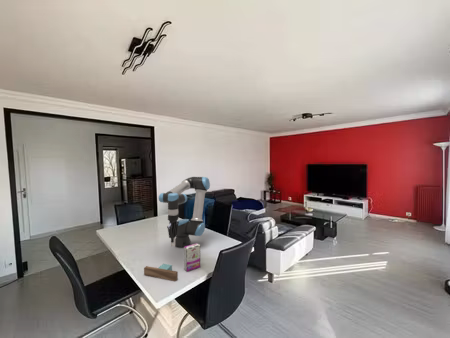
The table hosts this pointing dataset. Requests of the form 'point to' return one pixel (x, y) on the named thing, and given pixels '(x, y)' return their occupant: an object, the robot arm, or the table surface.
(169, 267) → the teal block
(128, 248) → the table surface
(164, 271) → the curved walnut bar
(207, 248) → the table surface
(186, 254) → the candy bar box
